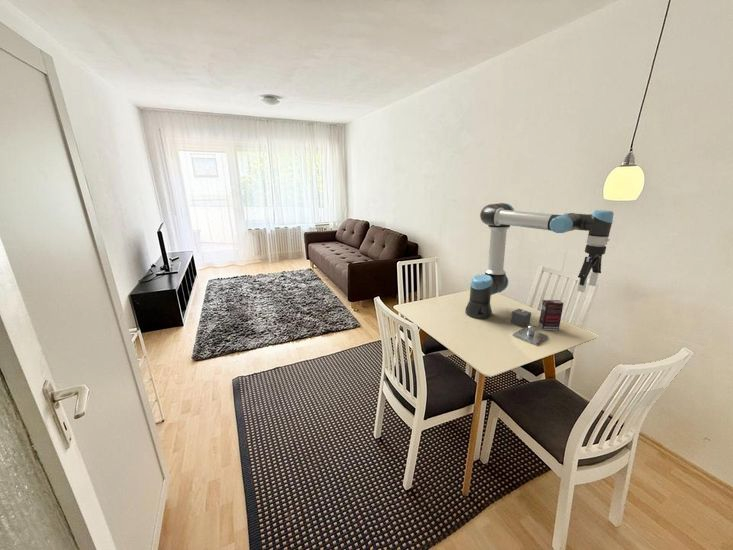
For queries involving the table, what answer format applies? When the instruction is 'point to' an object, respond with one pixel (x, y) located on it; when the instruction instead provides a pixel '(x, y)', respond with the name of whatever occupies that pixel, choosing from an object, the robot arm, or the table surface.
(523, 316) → the grey cube
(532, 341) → the hub
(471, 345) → the table surface
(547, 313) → the supplement box
